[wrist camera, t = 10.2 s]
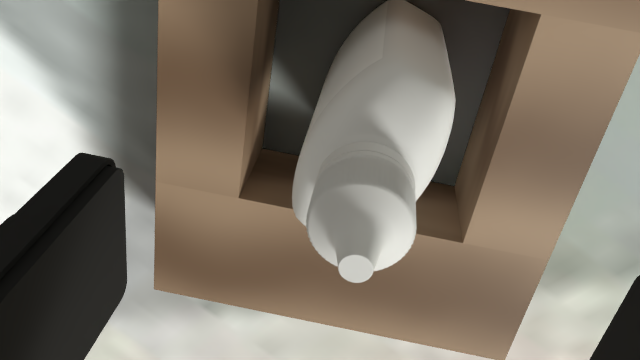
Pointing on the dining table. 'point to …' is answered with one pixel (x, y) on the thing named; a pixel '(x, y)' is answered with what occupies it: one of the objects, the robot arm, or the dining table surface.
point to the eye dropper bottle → (375, 140)
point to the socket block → (431, 207)
